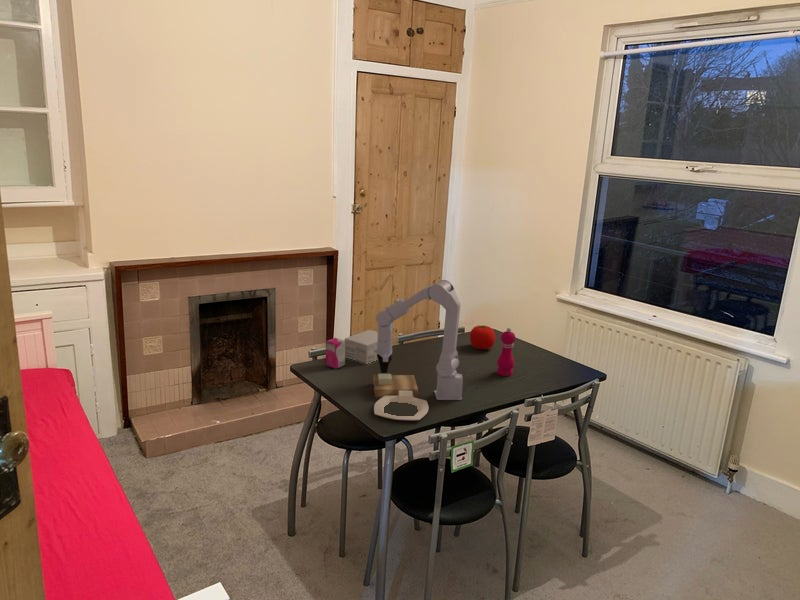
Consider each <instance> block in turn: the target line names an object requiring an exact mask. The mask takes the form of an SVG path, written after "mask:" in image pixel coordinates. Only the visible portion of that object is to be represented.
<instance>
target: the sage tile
mask: <svg viewBox="0 0 800 600" xmlns="http://www.w3.org/2000/svg"><path fill="white" fill-rule="evenodd" d="M377 375H378V384H379V385H392V376H391V375H392V374H391V373H378V374H377Z"/></svg>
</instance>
